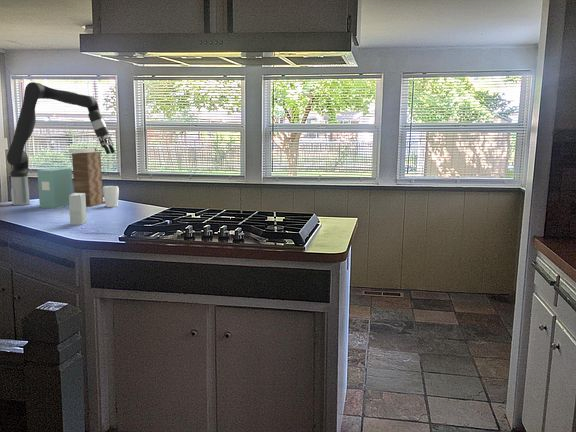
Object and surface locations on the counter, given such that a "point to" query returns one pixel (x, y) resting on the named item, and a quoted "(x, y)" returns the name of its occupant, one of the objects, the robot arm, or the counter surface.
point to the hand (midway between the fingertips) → (111, 153)
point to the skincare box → (77, 208)
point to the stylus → (81, 150)
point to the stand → (88, 177)
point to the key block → (54, 187)
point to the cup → (111, 195)
